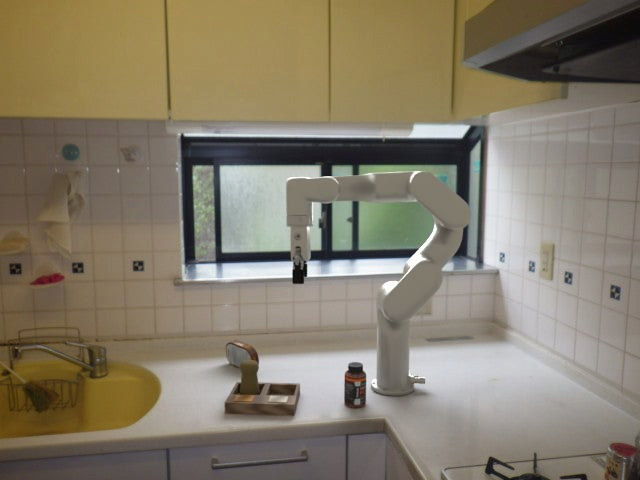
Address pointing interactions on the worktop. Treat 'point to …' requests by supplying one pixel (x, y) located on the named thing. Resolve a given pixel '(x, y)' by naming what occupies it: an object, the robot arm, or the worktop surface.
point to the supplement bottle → (355, 385)
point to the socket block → (264, 400)
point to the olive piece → (249, 378)
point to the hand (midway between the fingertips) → (300, 280)
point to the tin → (240, 353)
